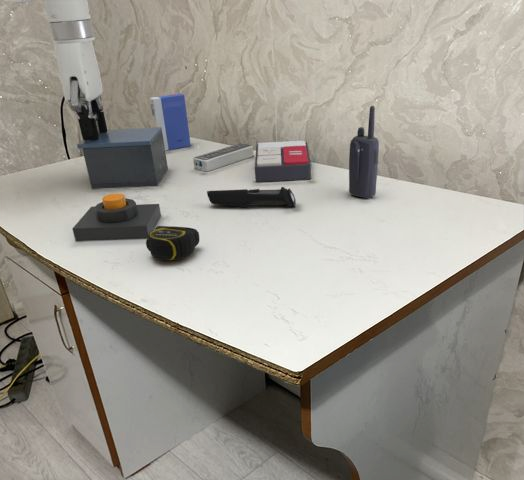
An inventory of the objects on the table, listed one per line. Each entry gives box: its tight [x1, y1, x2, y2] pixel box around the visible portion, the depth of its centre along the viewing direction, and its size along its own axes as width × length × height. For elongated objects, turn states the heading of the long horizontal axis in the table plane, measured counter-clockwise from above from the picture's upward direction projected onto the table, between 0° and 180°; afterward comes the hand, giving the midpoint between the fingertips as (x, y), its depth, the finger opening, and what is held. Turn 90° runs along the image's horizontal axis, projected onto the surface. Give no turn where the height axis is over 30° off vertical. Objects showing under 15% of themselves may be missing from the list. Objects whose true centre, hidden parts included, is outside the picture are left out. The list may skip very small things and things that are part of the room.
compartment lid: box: [76, 112, 162, 150], centre depth 107 cm, size 14×12×5 cm
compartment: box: [81, 132, 169, 189], centre depth 111 cm, size 14×12×8 cm
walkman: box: [149, 92, 192, 152], centre depth 129 cm, size 8×3×12 cm, turn 116°
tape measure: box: [145, 225, 200, 261], centre depth 78 cm, size 7×7×4 cm
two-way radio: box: [348, 105, 380, 199], centre depth 92 cm, size 6×4×15 cm
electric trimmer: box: [206, 186, 297, 208], centre depth 94 cm, size 4×16×3 cm, turn 84°
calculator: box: [254, 140, 312, 183], centre depth 111 cm, size 11×4×15 cm
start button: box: [101, 192, 127, 210], centre depth 87 cm, size 4×4×2 cm
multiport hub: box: [192, 142, 254, 173], centre depth 118 cm, size 4×14×2 cm, turn 136°
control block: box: [72, 197, 162, 242], centre depth 89 cm, size 12×10×4 cm
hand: (95, 135), depth 108 cm, fingers closed on compartment lid, 5 cm apart
